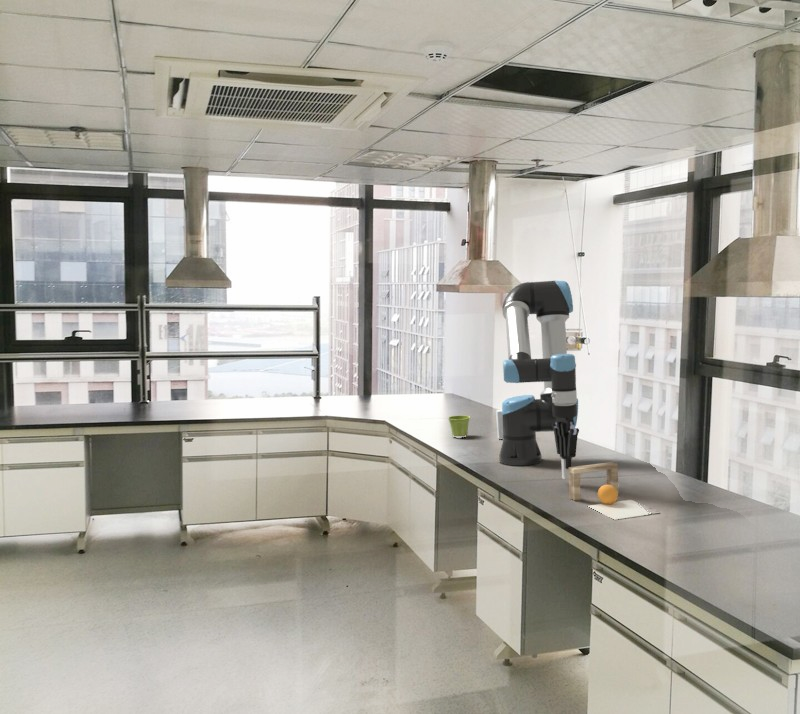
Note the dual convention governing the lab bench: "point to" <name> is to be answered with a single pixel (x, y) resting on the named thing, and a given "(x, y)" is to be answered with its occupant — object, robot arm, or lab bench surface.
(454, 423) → the plant pot
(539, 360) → the robot arm
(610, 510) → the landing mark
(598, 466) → the bridge
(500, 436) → the skincare box
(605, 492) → the ball
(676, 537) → the lab bench surface
